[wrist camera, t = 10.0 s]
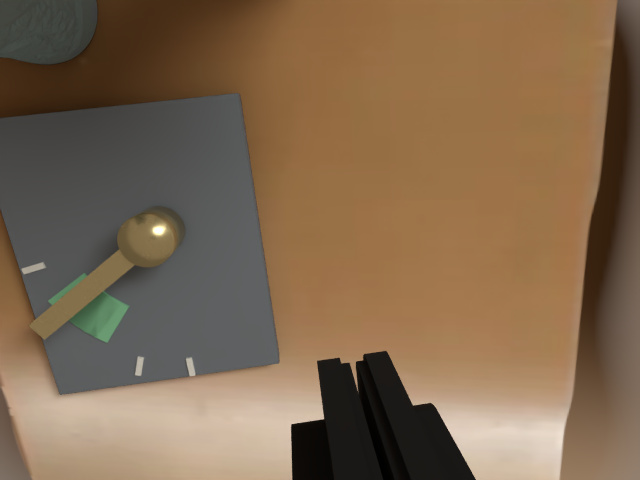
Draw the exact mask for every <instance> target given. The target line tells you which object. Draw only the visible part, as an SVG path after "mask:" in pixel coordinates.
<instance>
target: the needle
mask: <svg viewBox="0 0 640 480" xmlns="http://www.w3.org/2000/svg"><path fill="white" fill-rule="evenodd" d="M184 238H185V225H184V222H183V220H182V219H181V217H180V216H179V215H178V214H177V213H176V212H175V211H173V210H171V209H169V208H167V207H162V206H155V207H151V208H148V209H146V210H144V211H143V212H141V213H139V214H137V215H135V216H133V217H131V218H130V219H128V220H126V221H125V222H124V223H123V224H122V226H121V227H120V229H119V231H118V235H117V243H118V247H119V250H118V251H117V252H115V253H114V254H113V255H112V256H111V257H109V258H108V259H107V260H106V261H105V262H103V263H102V264H101V265H100V266H99V267H97V268H96V269H95V270H94V271H93V272H91V273H90V274H89V275H88V276H87V277H86V278H84V279H83V280H82V281H81V282H80V283H78V284H77V285H76V286H75V287H74V288H72V289H71V290H70V291H69V292H68V293H66V294H65V295H64V296H63V297H62V298H60V299H59V300H58V301H57V302H56V303H55V304H53V305H52V306H51V307H50V308H49V309H47V310H46V311H45V312H44V313H43V314H41V315H40V316H39V317H38V318H37V319H35V320H34V321H33V322H32V323H31V324H30V325H28V326H29V327H30V328H31V329H33V330H34V331H35V332H36V333H37V334H38V335H40V336H41V337H42V338H43V339H44V340H45V339H46V338H47V337H49V336H50V335H51V334H52V333H53V332H55V331H56V330H57V329H58V328H60V327H61V326H62V325H63V324H64V323H66V322H67V321H68V320H69V319H70V318H72V317H73V316H74V315H75V314H76V313H78V312H79V311H80V310H81V309H82V308H84V307H85V306H86V305H87V304H88V303H90V302H91V301H92V300H93V299H94V298H96V297H97V296H98V295H99V294H100V293H102V292H103V291H104V290H105V289H107V288H108V287H109V286H110V285H111V284H113V283H114V282H115V281H116V280H117V279H119V278H120V277H121V276H122V275H123V274H125V273H126V272H127V271H128V270H129V269H131V268H132V267H133V266H134V265H137V266H140V267H155V266H158V265H160V264H162V263H163V262H165V261H166V260H167V259H168V258H169V257H170V256H171V255H172V254H173V253H174V251H175V250H176V249H177V248H178V247H179V246H180V245H181V244H182V242H183V240H184Z"/></svg>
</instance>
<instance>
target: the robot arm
mask: <svg viewBox="0 0 640 480" xmlns="http://www.w3.org/2000/svg"><path fill="white" fill-rule="evenodd" d="M317 364H318V372H319V380H320V388H321V396H322V404H323V412H324V419H323V420H316V421H310V422H303V423H297V424H292V425H291V441H292V479H293V480H476V479H475V477H474V475H473V474H472V472H471V470H470V468H469V467H468V465H467V463H466V461H465V459H464V458H463V456H462V454H461V452H460V450H459V449H458V447H457V445H456V443H455V441H454V440H453V438H452V436H451V434H450V432H449V431H448V429H447V427H446V425H445V423H444V422H443V420H442V418H441V416H440V415H439V413H438V411H437V409H436V408H435V406H434V405H433V404H431V403H428V404H421V405H415V406H413V405H412V403H411V401H410V399H409V397H408V394H407V392H406V390H405V388H404V386H403V384H402V382H401V380H400V378H399V376H398V373H397V371H396V369H395V367H394V365H393V363H392V361H391V359H390V357H389V355H388V353H387V351H383V352H376V353H369V354H364V355H363V361H357V362H356V372H357V382H358V391H357V387H356V384H355V380H354V377H353V373H352V370H351V366H350V363H343V364H341V361H340V358H334V359H327V360H320V361H317ZM358 393H359V394H358Z"/></svg>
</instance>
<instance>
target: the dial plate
mask: <svg viewBox="0 0 640 480" xmlns="http://www.w3.org/2000/svg"><path fill="white" fill-rule="evenodd" d="M155 206H162V207H167V208H169V209H171V210H173V211H175V212H176V213H177V214H178V215H179V216H180V217H181V219H182V220H183V222H184V225H185V238H184V240H183V242H182V244H181V245H180V246H179V247H178V248H177V249H176V250H175V251H174V253H173V254H172V255H171V256H170V257H169V258H168V259H167V260H166V261H165V262H163V263H162V264H160V265H158V266H155V267H140V266H137V265H134V266H133V267H132V268H131V269H129V270H128V271H127V272H126V273H125V274H123V275H122V276H121V277H120V278H119V279H117V280H116V281H115V282H114V283H113V284H111V285H110V286H109V287H108V288H107V289H105V290H104V291H103V292H102V293H100V294H99V295H98V296H97V297H96V298H94V299H93V300H92V301H91V302H90V303H88V304H87V305H86V306H85V307H84V308H82V309H81V310H80V311H79V312H78V313H76V314H75V315H74V316H73V317H72V318H70V319H69V320H68V321H67V322H66V323H64V324H63V325H62V326H61V327H60V328H58V329H57V330H56V331H55V332H53V333H52V334H51V335H50V336H49V337H47V338H46V339H45V340H44V339H43V338H42V340H43V344H44V347H45V350H46V353H47V356H48V359H49V362H50V365H51V369H52V372H53V375H54V378H55V381H56V384H57V387H58V390H59V394H60V395H62V394H69V393H76V392H83V391H90V390H97V389H104V388H111V387H118V386H125V385H132V384H139V383H145V382H152V381H159V380H166V379H173V378H180V377H187V376H195V375H201V374H208V373H215V372H222V371H229V370H236V369H243V368H250V367H257V366H264V365H271V364H278V363H279V349H278V343H277V336H276V329H275V323H274V316H273V309H272V303H271V296H270V290H269V283H268V276H267V270H266V263H265V256H264V250H263V243H262V236H261V230H260V223H259V217H258V210H257V203H256V197H255V190H254V183H253V177H252V170H251V163H250V157H249V150H248V144H247V137H246V130H245V124H244V117H243V110H242V104H241V97H240V94H239V93H234V94H225V95H215V96H206V97H196V98H187V99H177V100H168V101H158V102H149V103H139V104H130V105H120V106H111V107H101V108H91V109H82V110H72V111H63V112H53V113H44V114H34V115H25V116H15V117H6V118H0V209H1V212H2V216H3V219H4V222H5V225H6V228H7V231H8V234H9V237H10V241H11V244H12V247H13V250H14V253H15V256H16V259H17V262H18V266H19V269H20V272H21V275H22V278H23V281H24V284H25V287H26V291H27V294H28V297H29V300H30V303H31V306H32V309H33V312H34V315H35V319H37V318H38V317H39V316H40V315H41V314H43V313H44V312H45V311H46V310H47V309H49V308H50V307H51V306H52V305H53V304H55V303H56V302H57V301H58V300H59V299H60V298H62V297H63V296H64V295H65V294H66V293H68V292H69V291H70V290H71V289H72V288H74V287H75V286H76V285H77V284H78V283H80V282H81V281H82V280H83V279H84V278H86V277H87V276H88V275H89V274H90V273H91V272H93V271H94V270H95V269H96V268H97V267H99V266H100V265H101V264H102V263H103V262H105V261H106V260H107V259H108V258H109V257H111V256H112V255H113V254H114V253H115V252H117V251H118V250H119V247H118V243H117V235H118V231H119V229H120V227H121V226H122V224H123V223H124V222H125V221H126V220H128V219H130V218H131V217H133V216H135V215H137V214H139V213H141V212H143V211H144V210H146V209H148V208H151V207H155Z"/></svg>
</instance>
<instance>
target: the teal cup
mask: <svg viewBox="0 0 640 480" xmlns="http://www.w3.org/2000/svg"><path fill="white" fill-rule="evenodd" d="M97 13H98V11H97V2H96V0H0V57H4V58H12V59H16V60H20V61H25V62H30V63H35V64H44V65H49V64H58V63H62V62H65V61H68V60H70V59H73V58H74V57H76V56H77V55H79V54H80V53H81V52H82V51H83V50H84V49H85V48H86V47H87V45H88V44H89V43H90V41H91V39H92V38H93V35H94V32H95V29H96V25H97Z"/></svg>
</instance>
